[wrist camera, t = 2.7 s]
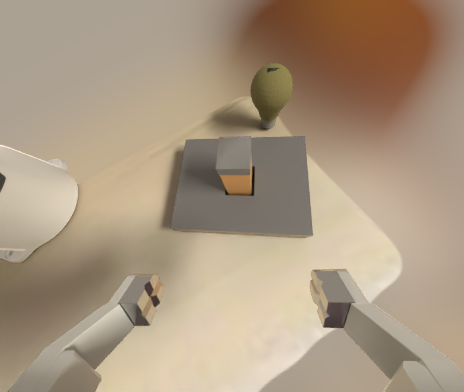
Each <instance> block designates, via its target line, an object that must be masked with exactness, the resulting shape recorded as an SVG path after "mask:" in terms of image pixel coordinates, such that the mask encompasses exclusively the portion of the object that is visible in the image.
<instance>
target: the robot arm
mask: <svg viewBox="0 0 464 392" xmlns="http://www.w3.org/2000/svg"><path fill="white" fill-rule="evenodd" d="M77 200H78V186H77V183H76V181H75V179H74V178H73V177H72V176H71V175H70V174H69V172H68V170H67V165H66V163H65V161H63V160H60V159H53V160H48V161H44V160H41V159H39V158H36V157H34V156H31V155H28V154H26V153H23V152H20V151H18V150H15V149H12V148H10V147H7V146H4V145H0V258H1V259H4V260H6V261H9V262H13V263H21V262H23V261H24V260H25V259H27V258H28V257H29V256H30V255H31V254H32V253H33V251H34V250H35V249H37V248H38V247H39V246H41V245H43V244H44V243H46V242H48V241H49V240H51V239H52V238H54V237H55V236H56V235H57V234H58V233H59V232H60V231H61V230H62V229H63V228H64V227H65V225H66V224H67V223H68V221H69V220H70V218H71V216H72V214H73V212H74V210H75V207H76V204H77ZM311 276H312V280H311V281H310V291H311V295H312V298H313V301H314V303H315V304H317V305H318V310H317V312H318V315H319V318H320V320H321V323H322V326H323V327H324V328H344V331H346V333H347V334H348V335H349V336H350V337H351V338H352V339H353V340H354V341H355V342H356V344H357V345H358V346H359V347H360V348H361V349H362V350H363V351H364V352H365V353H366V354H367V355H368V356H369V357H370V358H371V360H372V361H373V362H374V363H375V364H376V365H377V366H378V367H379V368H380V369H381V370H382V371H383V372H384V374H385V375H386V376H387V377H388V378H389V379H390V382H389V383H388V384H387V386H386V387H385V389H384V391H383V392H464V373H463V372H462V371H461V370H460V369H459V367H458V366H457V365H456V364H455V363H454V362H453V361H452V360H451V359H449V358H448V357H447V356H445V355H444V354H442V353H441V352H440V351H438V350H437V349H436V348H434V347H433V346H432V345H430V344H429V343H427V342H426V341H425V340H423V339H422V338H420V337H419V336H417V335H416V334H415V333H413V332H412V331H411V330H409V329H408V328H407V327H405V326H404V325H402V324H401V323H400V322H398V321H397V320H395V319H394V318H393V317H391V316H390V315H388V314H387V313H386V312H384V311H383V310H382V309H380V308H379V307H377V306H376V305H375V304H373V303H369V302H368V301H367V299H366V298H365V296H364V295H363V293H362V292H361V290H360V289H359V287H358V286H357V284H356V283H355V281H354V279H353V278H352V276H351V275H350V273H349V272H348V271H347V270H346V269H323V270H312V271H311ZM159 279H160V278H159V277H158V275H157V274H130V275H129V276H127V277H126V279H125V280H124V281H123V283H122V284H121V286H120V287H119V288H118V290H117V291H116V292H115V294H114V295H113V297H112V298H111V299H110V301H109V302H108V304H104V305H103V306H101V307H100V308H99V309H97V310H96V311H94V312H93V313H92V314H90V315H89V316H88V317H86V318H85V319H84V320H82V321H81V322H80V323H78V324H77V325H76V326H74V327H73V328H71V329H70V330H69V331H67V332H66V333H65V334H63V335H62V336H61V337H59V338H58V339H57V340H55V341H54V342H52V343H51V344H50V345H48V346H47V347H46V348H44V350H43V351H42V352H41V353H40V354H39V355H38V357H37V358H36V359H35V360H34V361H33V363H32V364H31V365H30V366H29V367H28V368H27V370H26V371H25V372H24V373H23V374H22V375H21V377H20V378H19V379H18V380H17V381H16V383H15V384H14V385H13V386H12V387H11V388H10V390H9V391H8V392H95V391H96V389H97V387H98V385H99V383H100V381H101V375H100V374H98V373H97V372H96V371H95V369H96V368H97V367H98V366H99V365H100V364H101V362H102V361H103V360H104V359H105V358H106V357H107V356H108V355H109V354H110V353H111V352H112V351H113V350H114V348H115V347H116V346H117V345H118V344H119V343H120V342H121V341H122V340H123V339H124V338H125V337H126V336H127V334H128V333H129V332H130V331H131V330H132V329H133V328H134V326H150V325H151V323H152V320H153V318H154V316H155V314H156V306H157V305H158V304H159V303H160V302H161V300H162V298H163V292H164V289H163V285H162V284H161V283H160V282H159Z"/></svg>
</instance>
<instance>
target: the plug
mask: <svg viewBox="0 0 464 392" xmlns="http://www.w3.org/2000/svg"><path fill="white" fill-rule="evenodd" d="M216 170H217V172H218V174H219V175H220V177H221V179H222V181H223V184H224V186H225V188H226V190H227V192H228V194H229V195H238V196H252V158H251V136H240V137H219V145H218V154H217V163H216Z"/></svg>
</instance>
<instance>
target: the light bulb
mask: <svg viewBox="0 0 464 392" xmlns="http://www.w3.org/2000/svg"><path fill="white" fill-rule="evenodd" d="M292 88H293V82H292V77H291V75H290V73H289V71H288V70H287V69H286V68H285V67H284V66H282V65H280V64H275V63H273V64H268V65H266V66H264V67H262V69H260V70H259V71H258V72H257V74H256V75H255V77H254V79H253V81H252V85H251V97H252V101H253V103H254V105H255V107H256V108H257V109H258V111H259V115H260V117H261V125H262V127H263V128H266V129H270V128H272V127H274V125H275V122H276V117H277V116H278V114H279V112H280V111H281V109H282V108H283V107H284V106H285V105H286V104H287V102H288V100H289V99H290V96H291V94H292Z"/></svg>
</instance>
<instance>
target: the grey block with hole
mask: <svg viewBox="0 0 464 392" xmlns="http://www.w3.org/2000/svg"><path fill="white" fill-rule="evenodd" d="M218 145H219V139H193V140H186V142H185V148H184V154H183V159H182V165H181V171H180V176H179V182H178V187H177V193H176V199H175V204H174V210H173V216H172V221H171V227H170V228H171V229H175V230H178V231H184V232H203V233H221V234H240V235H258V236H276V237H295V238H307V237H310V236H313V230H312V218H311V206H310V194H309V181H308V169H307V157H306V145H305V136H295V137H294V136H293V137H259V138H251V158H252V196H238V195H229V194H228V192H227V190H226V188H225V186H224V184H223V181H222V179H221V177H220V175H219V174H218V172H217V170H216V163H217V154H218Z"/></svg>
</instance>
